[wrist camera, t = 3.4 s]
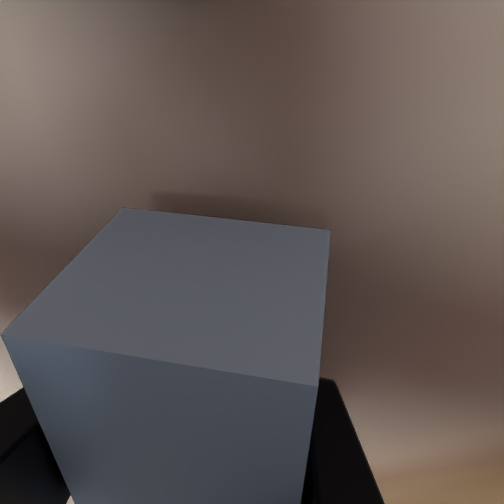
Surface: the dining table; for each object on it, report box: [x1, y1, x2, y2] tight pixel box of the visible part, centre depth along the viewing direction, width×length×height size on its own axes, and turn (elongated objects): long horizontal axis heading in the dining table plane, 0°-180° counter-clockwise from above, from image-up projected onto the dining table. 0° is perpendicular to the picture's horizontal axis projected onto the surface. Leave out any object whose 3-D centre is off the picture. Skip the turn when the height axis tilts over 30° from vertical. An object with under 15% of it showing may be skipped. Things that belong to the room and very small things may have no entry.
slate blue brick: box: [1, 207, 331, 504], centre depth 8 cm, size 6×4×4 cm, turn 179°
